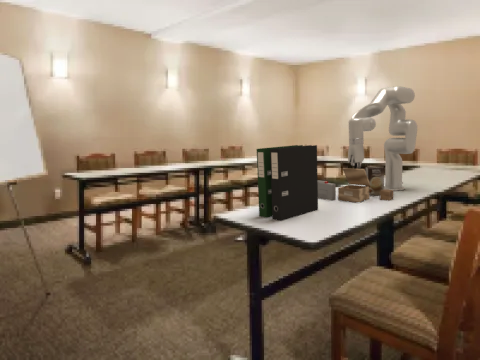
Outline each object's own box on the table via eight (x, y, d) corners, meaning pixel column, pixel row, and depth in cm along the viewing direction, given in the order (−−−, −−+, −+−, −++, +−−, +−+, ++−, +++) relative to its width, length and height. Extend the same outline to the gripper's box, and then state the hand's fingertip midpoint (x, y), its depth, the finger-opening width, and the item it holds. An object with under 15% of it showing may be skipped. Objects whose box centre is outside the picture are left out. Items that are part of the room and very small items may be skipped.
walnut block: (384, 198, 196) (384, 189, 195) (393, 199, 192) (393, 190, 192) (380, 199, 193) (380, 190, 192) (389, 200, 189) (389, 191, 188)
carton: (349, 196, 204) (349, 184, 203) (369, 198, 195) (369, 186, 194) (338, 200, 196) (338, 187, 195) (358, 202, 187) (358, 189, 186)
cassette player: (335, 199, 198) (335, 182, 196) (332, 200, 196) (332, 182, 195) (315, 196, 211) (315, 179, 209) (312, 196, 209) (311, 180, 208)
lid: (349, 184, 203) (349, 182, 204) (369, 185, 194) (370, 184, 195) (342, 168, 197) (343, 167, 197) (363, 170, 188) (364, 168, 188)
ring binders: (297, 206, 186) (296, 145, 182) (320, 210, 175) (319, 145, 170) (259, 216, 169) (256, 148, 165) (281, 221, 158) (279, 149, 153)
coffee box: (367, 195, 204) (367, 168, 202) (364, 193, 210) (365, 166, 208) (384, 195, 203) (384, 167, 201) (381, 193, 209) (381, 166, 207)
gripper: (356, 140, 201) (357, 172, 204) (342, 143, 191) (343, 176, 194) (369, 140, 196) (369, 173, 199) (355, 143, 185) (356, 177, 188)
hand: (356, 174), depth 196 cm, fingers closed
